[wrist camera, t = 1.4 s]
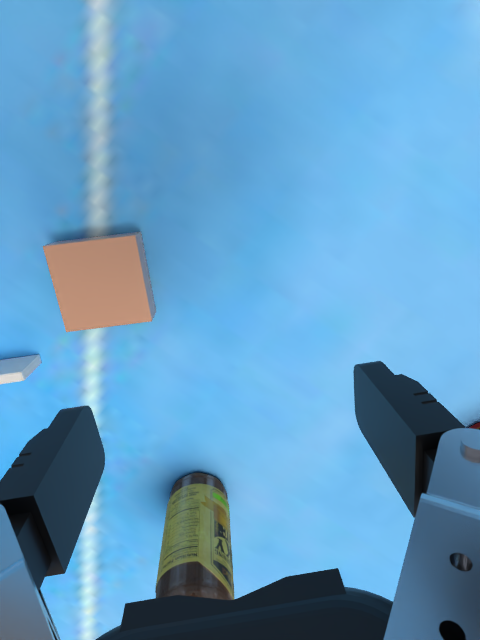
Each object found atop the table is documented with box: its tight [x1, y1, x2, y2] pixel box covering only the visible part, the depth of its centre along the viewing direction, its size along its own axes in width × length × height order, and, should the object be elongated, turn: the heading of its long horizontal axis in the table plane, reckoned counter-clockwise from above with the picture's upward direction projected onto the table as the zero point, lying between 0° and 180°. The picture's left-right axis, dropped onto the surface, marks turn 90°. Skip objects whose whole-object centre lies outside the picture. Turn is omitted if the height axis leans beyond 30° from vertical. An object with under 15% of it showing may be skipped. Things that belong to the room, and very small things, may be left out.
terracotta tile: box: [43, 232, 156, 332], centre depth 32 cm, size 7×7×3 cm
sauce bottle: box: [156, 473, 234, 600], centre depth 32 cm, size 6×6×20 cm
